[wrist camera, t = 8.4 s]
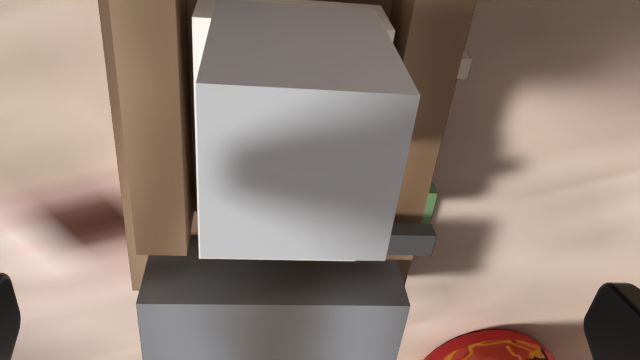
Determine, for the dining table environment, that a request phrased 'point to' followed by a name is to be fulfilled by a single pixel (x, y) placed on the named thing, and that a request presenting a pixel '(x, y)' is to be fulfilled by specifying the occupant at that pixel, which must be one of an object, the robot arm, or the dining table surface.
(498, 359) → the canned food
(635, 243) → the dining table surface
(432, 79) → the gauge bench
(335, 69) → the pale grey cube box
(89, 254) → the dining table surface
